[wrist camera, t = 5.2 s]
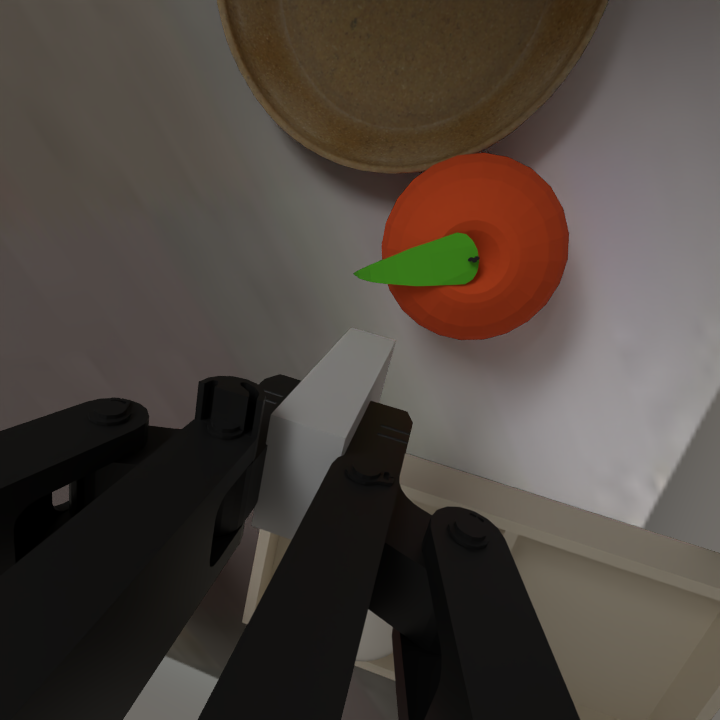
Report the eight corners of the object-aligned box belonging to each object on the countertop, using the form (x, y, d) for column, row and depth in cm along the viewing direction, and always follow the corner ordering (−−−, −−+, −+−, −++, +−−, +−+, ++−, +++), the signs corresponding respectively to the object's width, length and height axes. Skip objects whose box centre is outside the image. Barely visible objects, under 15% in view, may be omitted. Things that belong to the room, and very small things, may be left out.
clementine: (387, 332, 23) (356, 380, 17) (359, 188, 21) (312, 177, 15) (558, 306, 21) (601, 349, 15) (542, 144, 19) (583, 108, 13)
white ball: (334, 490, 26) (298, 567, 20) (440, 525, 25) (433, 616, 19) (313, 572, 28) (275, 664, 22) (410, 607, 27) (397, 711, 21)
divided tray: (297, 418, 26) (276, 443, 23) (750, 563, 23) (791, 612, 20) (262, 584, 30) (241, 622, 27) (643, 724, 27) (663, 783, 24)
